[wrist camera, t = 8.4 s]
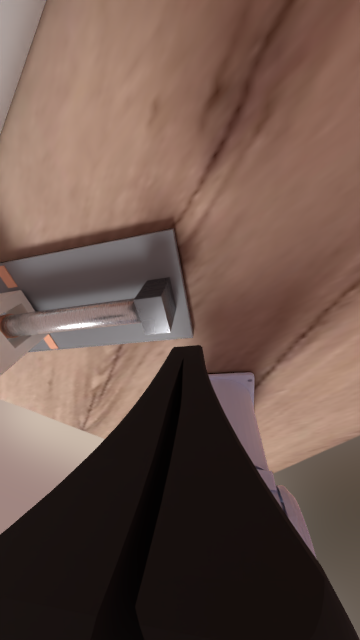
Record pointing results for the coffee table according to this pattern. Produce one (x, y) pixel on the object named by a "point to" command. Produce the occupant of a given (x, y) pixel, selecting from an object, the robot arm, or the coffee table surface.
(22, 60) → the tube
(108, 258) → the rod board
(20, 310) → the collar
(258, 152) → the coffee table surface
